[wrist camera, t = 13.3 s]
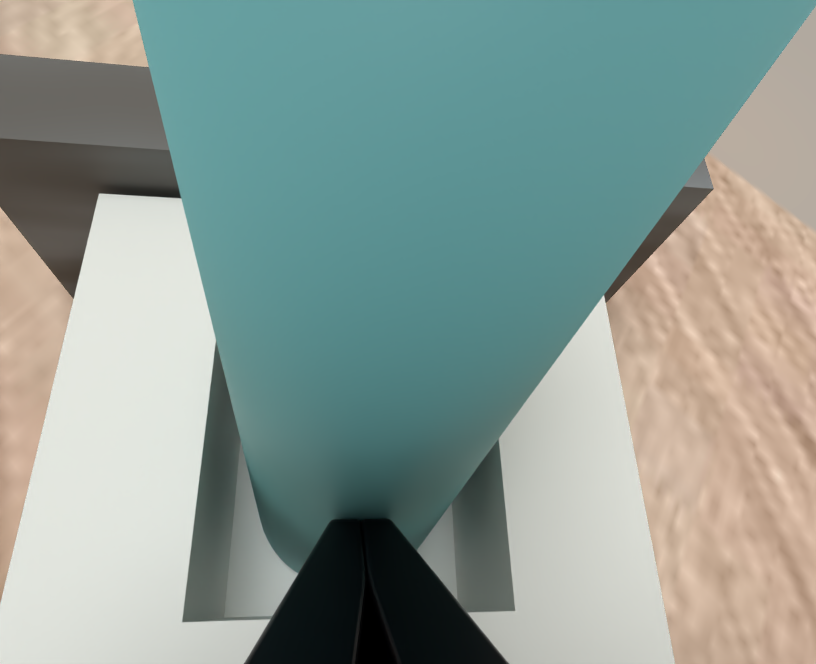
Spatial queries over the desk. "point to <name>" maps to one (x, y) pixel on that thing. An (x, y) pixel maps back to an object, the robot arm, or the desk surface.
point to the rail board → (129, 156)
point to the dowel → (424, 213)
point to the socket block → (236, 507)
